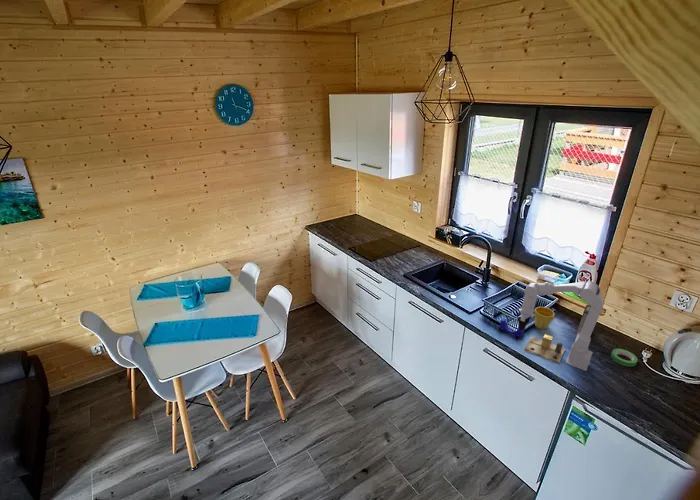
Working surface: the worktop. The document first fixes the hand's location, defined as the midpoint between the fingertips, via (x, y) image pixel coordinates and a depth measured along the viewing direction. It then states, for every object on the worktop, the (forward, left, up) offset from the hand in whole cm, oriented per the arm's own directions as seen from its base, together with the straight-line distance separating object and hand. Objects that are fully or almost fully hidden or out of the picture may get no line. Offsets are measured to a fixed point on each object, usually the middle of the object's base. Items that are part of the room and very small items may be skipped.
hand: (523, 326), depth 212 cm
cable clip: (+7, -6, -10) cm, 14 cm away
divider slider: (-12, 0, -9) cm, 15 cm away
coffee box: (-26, -29, -10) cm, 40 cm away
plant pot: (-5, -22, -10) cm, 25 cm away
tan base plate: (-12, 0, -10) cm, 16 cm away
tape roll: (-46, -18, -10) cm, 51 cm away
